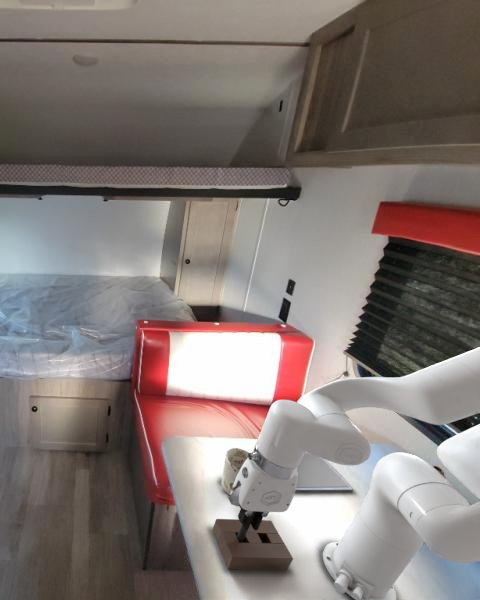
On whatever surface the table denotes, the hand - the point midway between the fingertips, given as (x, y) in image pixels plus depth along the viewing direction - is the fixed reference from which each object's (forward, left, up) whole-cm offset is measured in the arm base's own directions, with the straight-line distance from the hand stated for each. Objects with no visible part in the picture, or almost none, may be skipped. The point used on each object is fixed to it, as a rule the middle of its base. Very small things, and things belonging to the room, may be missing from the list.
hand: (247, 522), depth 72 cm
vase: (+63, -21, -9) cm, 67 cm away
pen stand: (+2, -2, -9) cm, 9 cm away
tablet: (+38, +1, -9) cm, 39 cm away
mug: (+12, +8, -9) cm, 17 cm away
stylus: (0, 0, -8) cm, 8 cm away
